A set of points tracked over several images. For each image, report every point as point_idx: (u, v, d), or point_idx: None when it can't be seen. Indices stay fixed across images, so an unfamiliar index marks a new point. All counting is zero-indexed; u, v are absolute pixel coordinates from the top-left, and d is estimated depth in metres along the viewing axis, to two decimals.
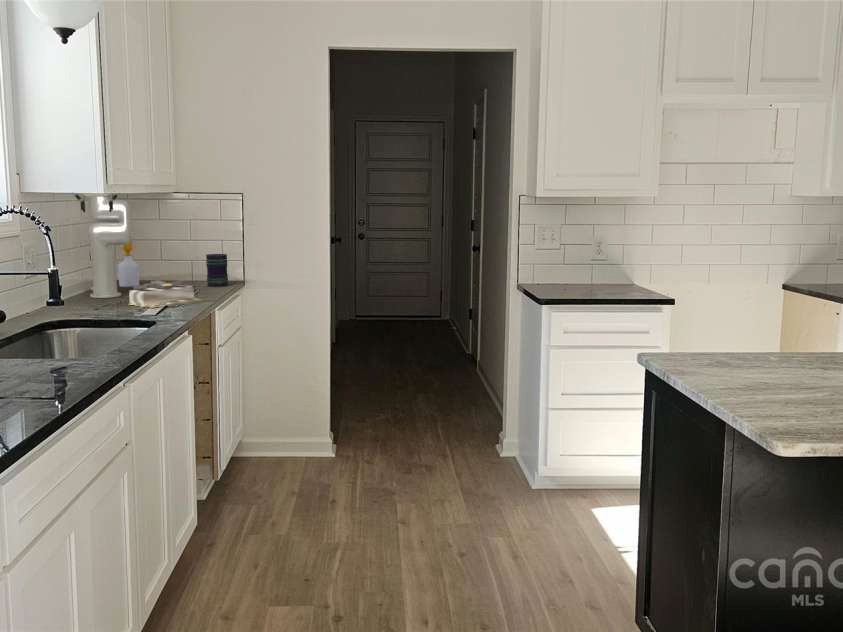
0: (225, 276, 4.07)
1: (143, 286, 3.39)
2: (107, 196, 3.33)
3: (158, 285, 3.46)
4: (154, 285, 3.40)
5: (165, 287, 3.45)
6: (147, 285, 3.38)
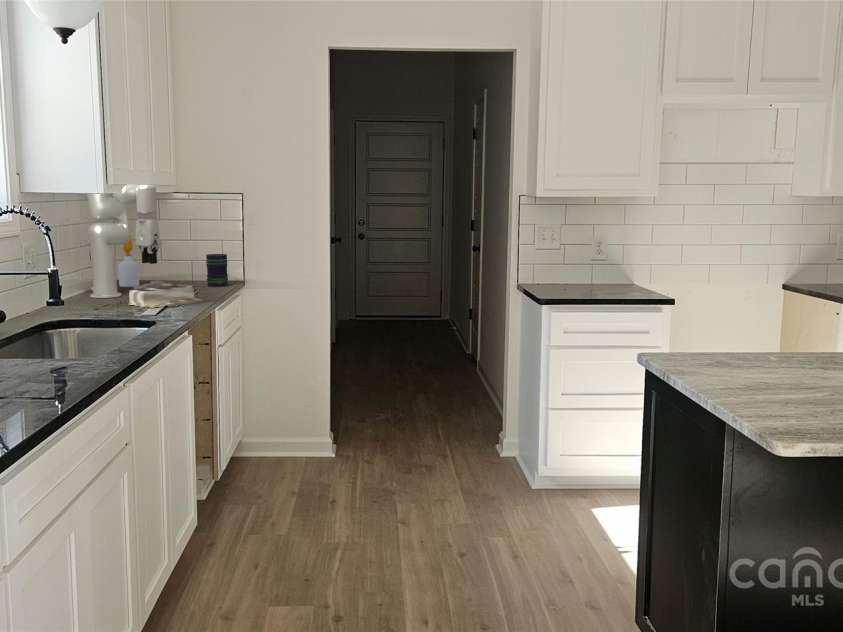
0: (225, 276, 4.07)
1: (143, 286, 3.39)
2: (147, 246, 3.40)
3: (158, 285, 3.46)
4: (154, 285, 3.40)
5: (165, 287, 3.45)
6: (147, 285, 3.38)
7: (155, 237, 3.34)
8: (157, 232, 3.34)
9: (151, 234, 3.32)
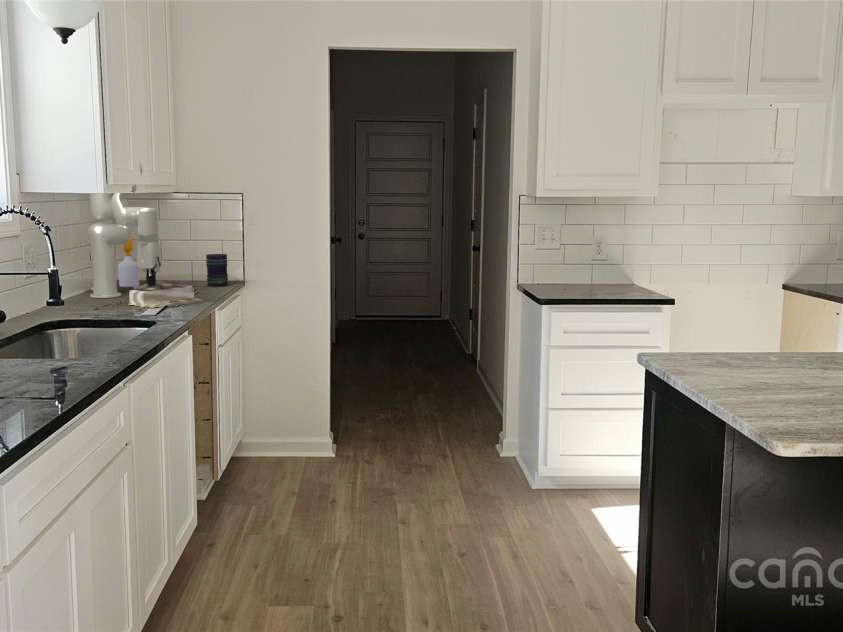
0: (225, 276, 4.07)
1: (143, 286, 3.39)
2: None
3: (158, 285, 3.46)
4: None
5: (165, 287, 3.45)
6: (147, 285, 3.38)
7: (156, 261, 3.35)
8: (158, 255, 3.35)
9: (153, 257, 3.33)
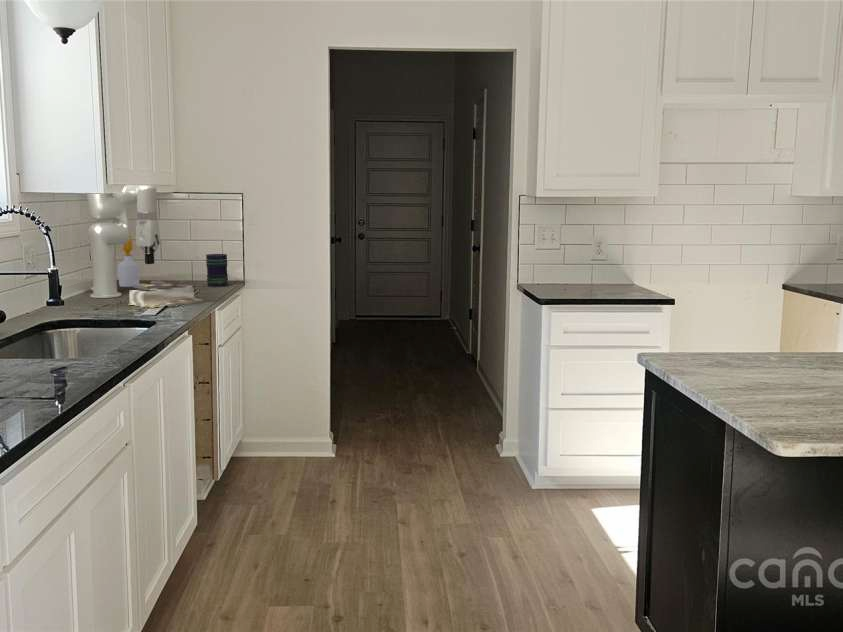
0: (225, 276, 4.07)
1: (143, 287, 3.39)
2: None
3: (158, 285, 3.46)
4: (154, 287, 3.40)
5: (165, 287, 3.45)
6: (147, 287, 3.38)
7: (154, 239, 3.34)
8: (157, 233, 3.35)
9: (151, 235, 3.33)
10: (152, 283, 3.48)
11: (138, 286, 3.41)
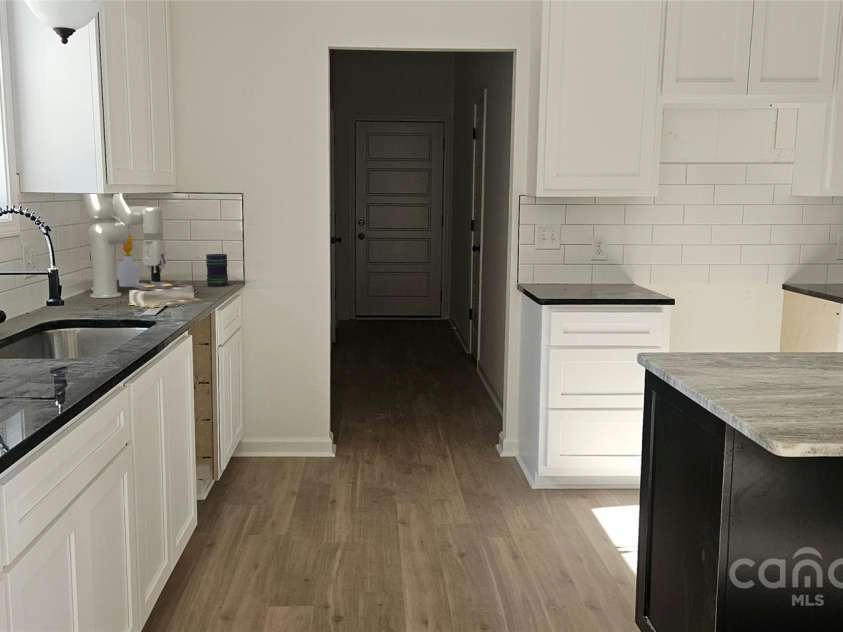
0: (225, 276, 4.07)
1: (143, 287, 3.39)
2: None
3: (158, 285, 3.46)
4: (154, 288, 3.41)
5: (165, 287, 3.45)
6: (147, 288, 3.38)
7: (161, 258, 3.46)
8: (163, 252, 3.46)
9: (157, 254, 3.44)
10: (152, 283, 3.48)
11: (138, 286, 3.41)
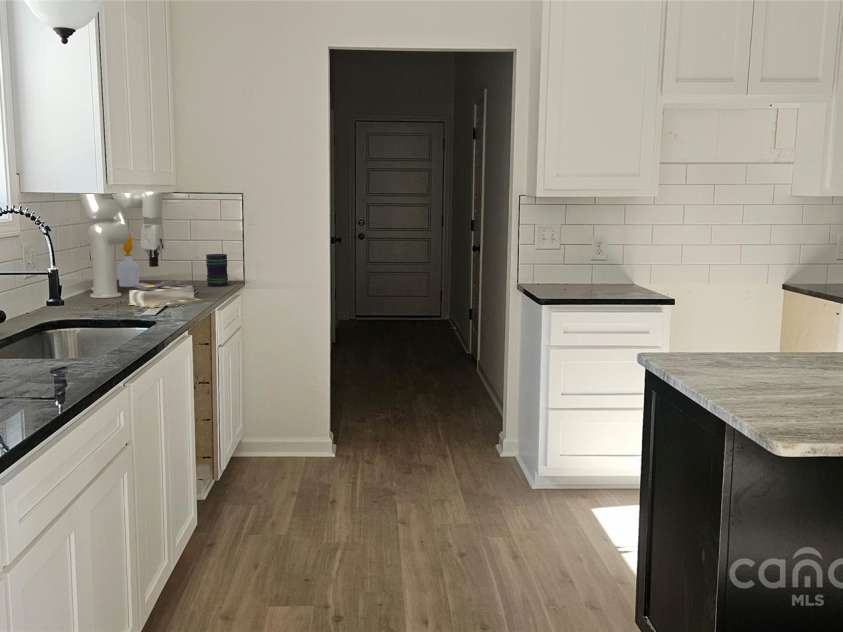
0: (225, 276, 4.07)
1: (143, 287, 3.39)
2: None
3: (158, 284, 3.46)
4: (154, 288, 3.41)
5: (165, 283, 3.44)
6: (147, 288, 3.38)
7: (159, 243, 3.46)
8: (162, 237, 3.46)
9: (156, 239, 3.44)
10: None
11: (138, 286, 3.41)
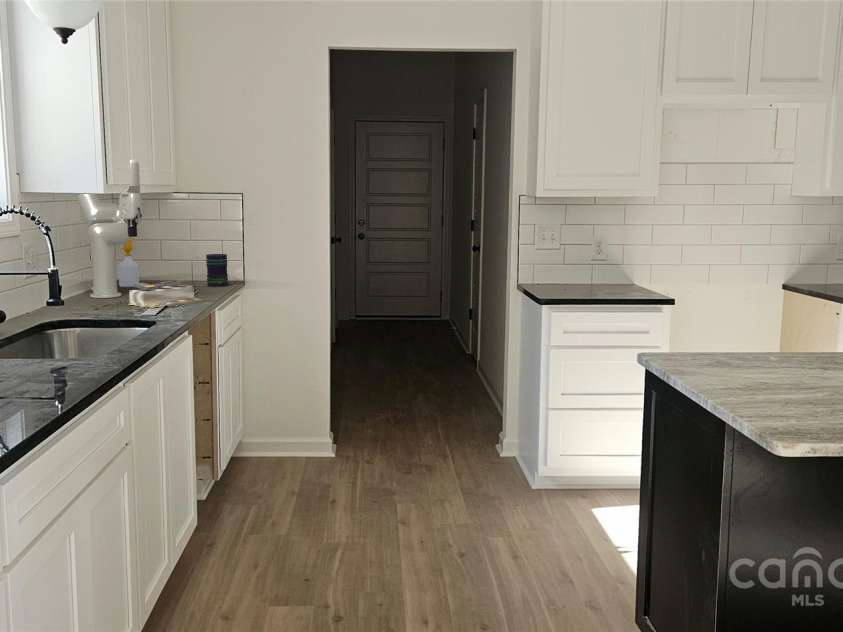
0: (225, 276, 4.07)
1: (143, 287, 3.39)
2: None
3: (158, 284, 3.46)
4: (154, 288, 3.41)
5: (165, 283, 3.44)
6: (147, 288, 3.38)
7: (137, 211, 3.42)
8: (140, 206, 3.42)
9: (134, 207, 3.40)
10: None
11: (138, 286, 3.41)
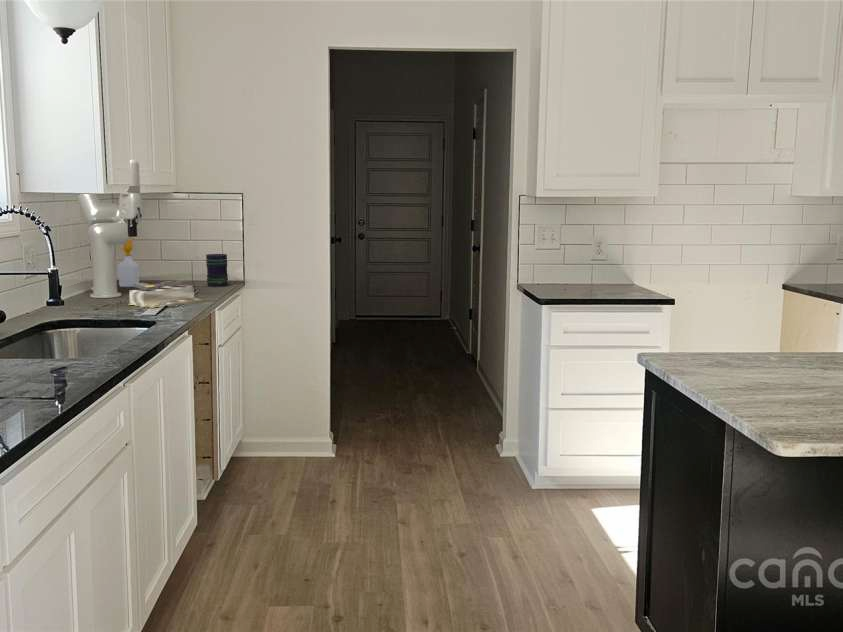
0: (225, 276, 4.07)
1: (143, 287, 3.39)
2: None
3: (158, 284, 3.46)
4: (154, 288, 3.41)
5: (165, 283, 3.44)
6: (147, 288, 3.38)
7: (137, 211, 3.42)
8: (140, 206, 3.42)
9: (134, 207, 3.40)
10: None
11: (138, 286, 3.41)
